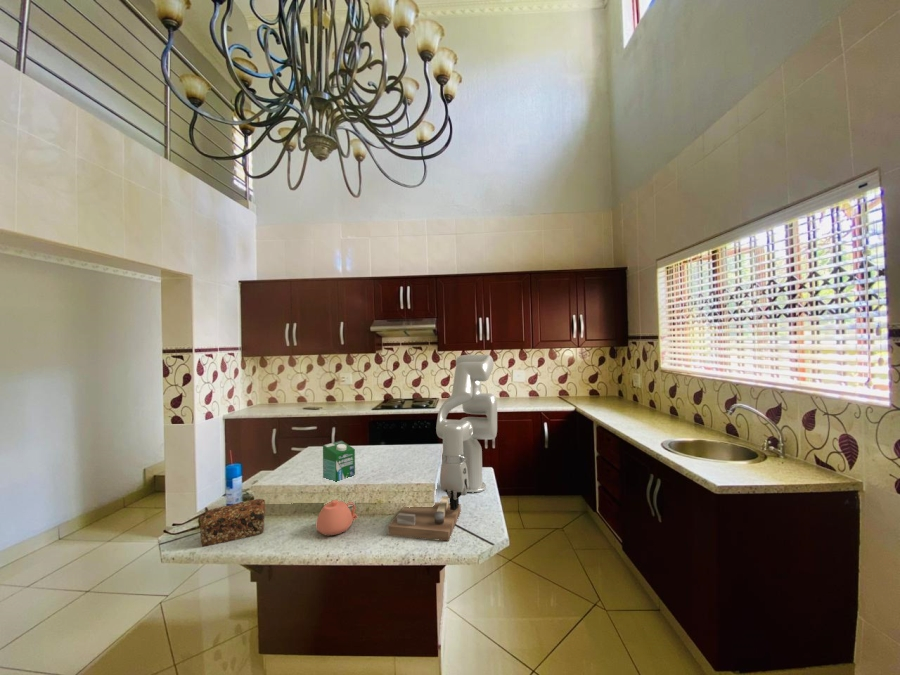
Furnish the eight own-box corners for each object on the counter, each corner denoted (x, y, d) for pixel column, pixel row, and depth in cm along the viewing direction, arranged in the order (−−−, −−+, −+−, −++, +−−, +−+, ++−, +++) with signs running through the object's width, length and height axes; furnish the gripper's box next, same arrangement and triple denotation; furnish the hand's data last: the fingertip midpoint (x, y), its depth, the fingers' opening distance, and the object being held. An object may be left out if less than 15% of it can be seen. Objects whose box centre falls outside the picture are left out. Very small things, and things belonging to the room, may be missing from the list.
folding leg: (443, 524, 120) (443, 515, 121) (433, 523, 121) (433, 515, 121) (449, 503, 137) (449, 495, 137) (441, 502, 137) (441, 495, 137)
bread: (265, 522, 132) (265, 494, 132) (264, 535, 122) (264, 506, 122) (205, 534, 124) (205, 505, 124) (198, 549, 114) (199, 517, 115)
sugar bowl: (314, 526, 127) (314, 497, 128) (353, 517, 134) (353, 490, 134) (318, 542, 116) (318, 511, 117) (361, 532, 123) (360, 502, 123)
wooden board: (409, 507, 141) (408, 492, 141) (460, 512, 136) (460, 496, 136) (388, 535, 120) (388, 517, 121) (448, 541, 116) (448, 522, 116)
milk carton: (336, 513, 137) (336, 448, 138) (323, 507, 143) (322, 444, 144) (355, 505, 144) (354, 443, 145) (342, 499, 150) (341, 440, 151)
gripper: (475, 458, 130) (477, 509, 129) (442, 452, 138) (442, 500, 137) (465, 464, 124) (467, 517, 123) (430, 458, 132) (431, 508, 131)
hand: (454, 508), depth 130 cm, fingers closed
